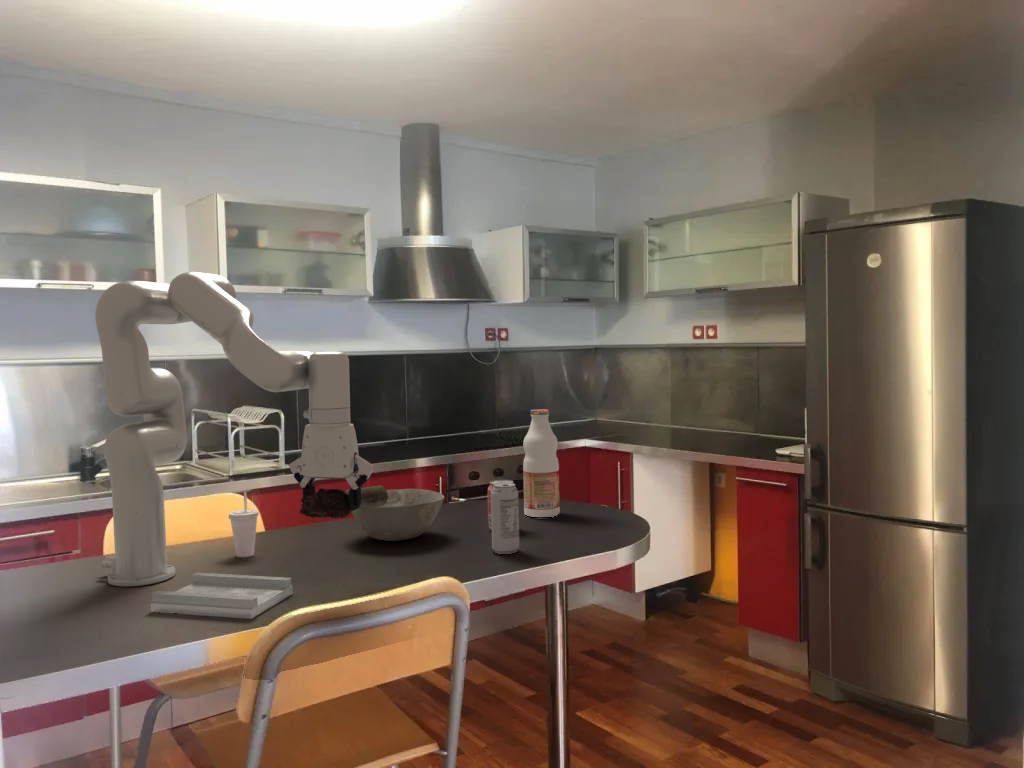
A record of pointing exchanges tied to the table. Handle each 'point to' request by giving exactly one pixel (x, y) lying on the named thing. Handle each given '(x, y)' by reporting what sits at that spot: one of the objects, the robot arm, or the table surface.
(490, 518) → the soda can
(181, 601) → the grey rectangular tray
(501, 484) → the energy drink can
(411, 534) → the ceramic bowl
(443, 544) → the table surface
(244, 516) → the smoothie
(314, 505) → the dark piece
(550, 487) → the fruit juice
